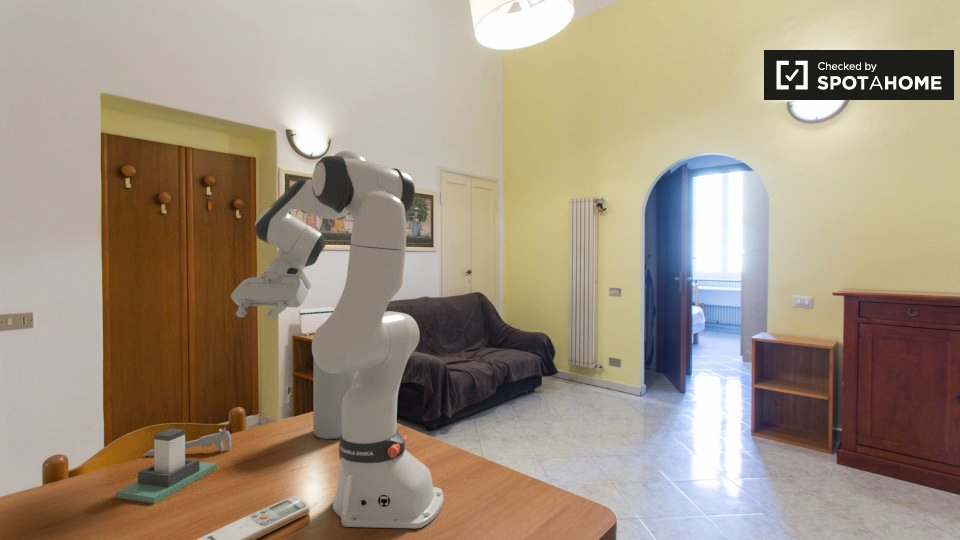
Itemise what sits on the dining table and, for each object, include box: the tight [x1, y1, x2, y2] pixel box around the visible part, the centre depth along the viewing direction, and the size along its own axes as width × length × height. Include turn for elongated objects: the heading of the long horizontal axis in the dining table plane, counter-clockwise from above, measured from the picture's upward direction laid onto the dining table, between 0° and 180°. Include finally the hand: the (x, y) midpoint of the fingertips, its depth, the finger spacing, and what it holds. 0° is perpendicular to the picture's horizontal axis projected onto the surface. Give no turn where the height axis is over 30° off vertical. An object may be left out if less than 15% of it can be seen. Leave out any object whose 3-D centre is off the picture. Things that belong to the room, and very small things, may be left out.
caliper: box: [142, 427, 232, 457], centre depth 116 cm, size 20×1×6 cm, turn 101°
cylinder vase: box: [312, 359, 358, 440], centre depth 131 cm, size 12×12×25 cm
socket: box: [115, 457, 218, 504], centre depth 100 cm, size 10×16×4 cm, turn 167°
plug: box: [153, 427, 186, 473], centre depth 100 cm, size 4×4×10 cm
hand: (255, 316), depth 116 cm, fingers open, 8 cm apart
